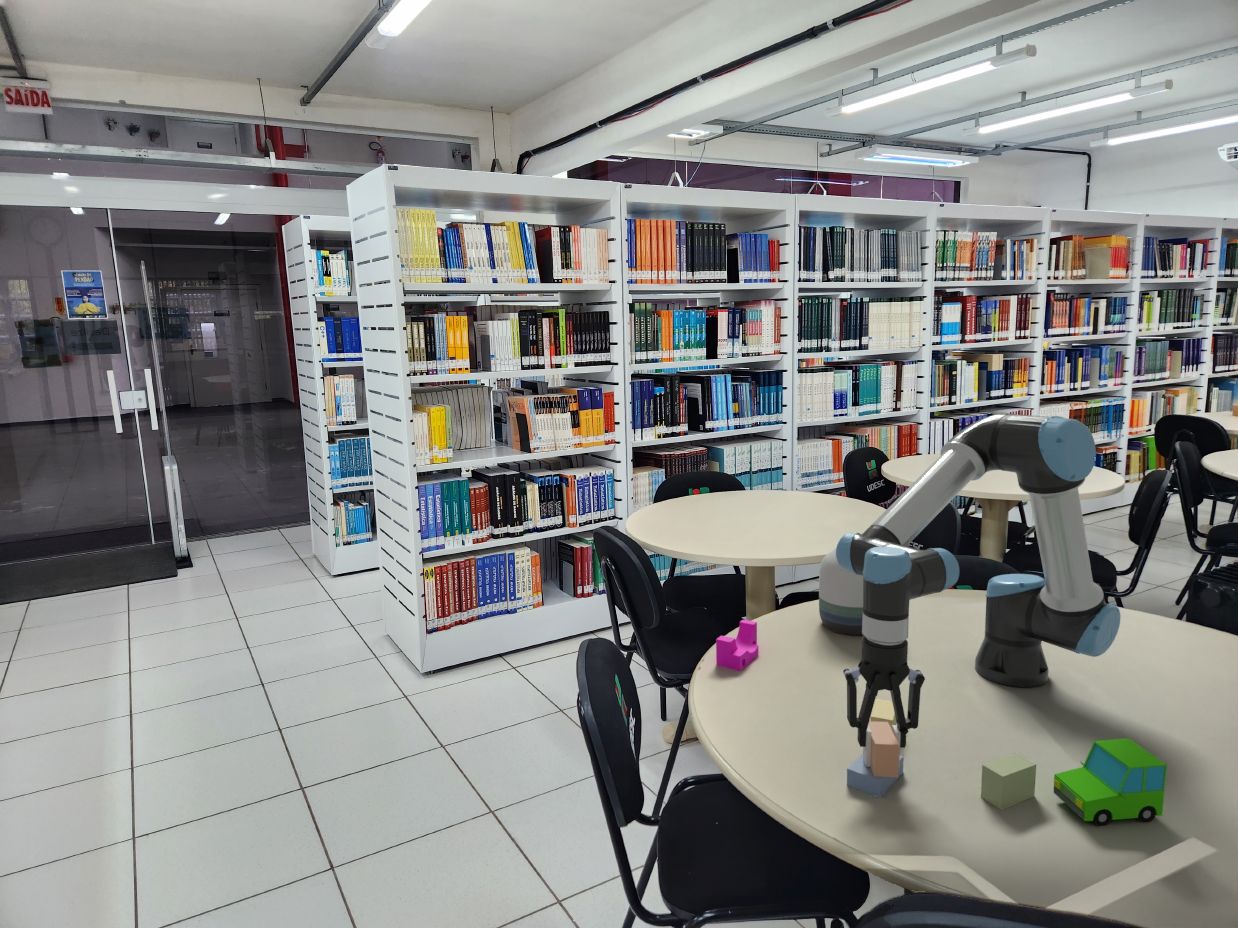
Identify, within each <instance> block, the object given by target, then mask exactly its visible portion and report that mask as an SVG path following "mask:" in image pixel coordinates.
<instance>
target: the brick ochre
mask: <svg viewBox="0 0 1238 928" xmlns="http://www.w3.org/2000/svg"><path fill="white" fill-rule="evenodd" d="M870 721H873V722H888V723H889V725H890V727H891V729H892V725H897V722H896V717H895V712H894V707H893V702H892V700H888V699H882V698H875V701H874V705H873V709H872V713H871V716H870Z"/></svg>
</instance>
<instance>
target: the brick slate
mask: <svg viewBox="0 0 1238 928" xmlns="http://www.w3.org/2000/svg"><path fill="white" fill-rule="evenodd" d="M903 773H904V756H903V755H901V754H900V762H899V771H898V777H874V775H873V772H872V770H871V767H866V765H865V762H864V760H863V753H862V754H861V755H860V756H859V757H858V758H857V759H856V760H854V761H853V762H852V763H850V765H849V766H848V767H847V769H846V786H848V787H850V788H853V789H856V790H859V791H861V792H864V793H866V794H869V795H871V796H874V797H876V798H881V797H882V796H883V795H884V794H885V793H886V791H888V789H890V787H891V786H892V785H893V784H894V783H895V782H896V781H897V780H898V779H899V778H900V776H902V774H903Z"/></svg>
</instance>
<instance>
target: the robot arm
mask: <svg viewBox="0 0 1238 928" xmlns="http://www.w3.org/2000/svg"><path fill="white" fill-rule="evenodd" d="M940 449H941V450H940V456H939V457H938V458H937V459H936V460H935V461H934V462H933V463H932V464H931V465H930V466H929V467H928V468H927V469H926V470H924V472H923V473H922V474H921V475H920V476H919V477H918V478H917V479H916V480H915V481H914V482H913V483H912V484H911V485H909V487H907V488H906V489H905V491H904V492H902V494H901V495H899V497H898V498H897V499H896V500H895V501H894V502H893V503H892V504H890V506H889V507H888V508H887V509H885V511H884V512H883V513H881V515H880V516H879V517H877V519H875V520H874V522H873V523H872V524H871V525H870V526H869V527H868V528H867V529H866V530H864V532H863V533H861V532H860V533H859V532H848V533H845V534H843V535H842V536H841V538H840V539H839V540H838V542H837V544H836V548H835V549H836V558H837V561H838V563H839V565H840V566H841V567H842V568H844V569H846V570H848V571H851V572H853V573H855V574H857V575H863V620H862V634H863V635H862V636H861V653H860V654H861V655H860V656H861V657H860V661H859V662H858V666H857V667H854V668H851V669H849V668H844V669H843V672H842V673H843V675H844V678H845V681H846V718H847V722H848V724H849V726H850V727H851V728H856V729H857V742H858V744H859V747H862V754H863V760H864V762H865V765H866V767H871V734H872V732H871V730H870V728H869V725H868V724H869V721H871V714H872V711H873V708H874V704H875V701H876V699H877V696H878V693H879V691H883V690H886V691H890V697H891V701H892V702H893V707H894V712H895V717H896V722H897V725H892V731H893V733H894V735H895V737H896V739H897V741H898V743H899V762H900V755H901V749H902V748H905V747H906V745H907V734H908V733H909V730H910V729H914V730H915V729H917V728H918V727H919V717H920V706H921V705H920V703H921V689H922V687H923V685H924V682H925V680H926V677H925V676H924V674H923V673H922V671H921V670H919V669H912V668H910V667H909V665H908V651H909V649H908V648H909V647H908V646H909V642H908V640H907V639H908V638H909V616H910V615H909V614H910V612H909V611H910V600H915V599H918V598H921V597H924V596H929V595H932V594H937V593H942V592H943V591H945V590H947V589H950V588H952V587H953V586H954V585H956V583H958V580H959V577H960V566H959V562H958V560H957V559H956V557H955V555H954V554H953V553H951V552H950V551H949V550H947V549H945V548H941V547H934V548H932V547H930V548H927V549H919V548H914V547H911V546H909V545H910V543H911V542H912V541H913V540H915V538H916V537H918V535H919V534H920V533H921V532H922V531H923V530H924V529H925V528H926V527H927V526H928V525H929V524H930V523H931V522H932V521H933V520H934V519H935V518H936V517H937V515H939V513H941V512H942V511H943V510H944V509H945V507H946V506H948V505H949V503H951V501H953V499H955V497H956V496H957V495H958V494H960V492H961V491H962V490H963V489H965V487H966V486H967V485H968V484H969V483H970V482H971V481H977V480H980V479H981V478H982V477H983V476H984V475H985V474H986V473H988V472H990V471H1003V472H1010V473H1015V474H1016V477H1017V482H1018V486H1019V489H1021V490H1022V491H1023V492H1024V493H1026V494H1028V495H1029V503H1030V507H1031V510H1032V511H1031V512H1032V518H1033V521H1034V528H1035V531H1036V532H1035V533H1036V539H1037V544H1038V548H1039V554H1040V559H1041V565H1042V571H1043V575H1044V577H1042V576H1040V575H1036V574H1025V573H1009V574H1008V573H1006V574H1000V575H996V576H993V577H992V578H990V579H989V580H988V583H987V587H986V593H985V597H986V598H985V599H986V601H985V619H984V620H985V623H984V638H983V640H982V643H981V645H980V647H979V649H978V650H977V651H978V652H977V654H976V656H975V659H974V663H975V664H974V670H975V671H976V673H977V674H979V675H980V676H981V677H983V678H985V679H986V680H988V681H991V682H994V683H998V684H1001V685H1006V686H1012V687H1019V688H1020V687H1021V688H1030V687H1031V688H1033V687H1037V686H1038V687H1039V686H1042V685H1044V684H1045V683H1047V682H1048V680H1049V671H1050V670H1049V666H1048V663H1047V659H1046V656H1045V653H1044V650H1043V647H1042V642H1044V643H1047V644H1050V645H1052V646H1056V647H1058V648H1061V649H1064V650H1067V651H1070V652H1072V653H1073V652H1074V653H1076V654H1078V655H1079V654H1081V655H1085V656H1088V657H1094V658H1095V657H1099V656H1101V655H1103V654H1105V653H1106V652H1108V650H1109V649H1110V647H1111V646H1112V644H1113V643H1114V642H1115V639H1116V636H1117V635H1118V631H1119V628H1120V626H1121V610H1120V609H1119V607H1117V606H1116V605H1114V604H1113V603H1107V602H1106V599H1105V595H1104V591H1103V589H1102V587H1101V586H1100V585H1099V584H1097V583H1096V582H1094V580H1093V574H1092V569H1091V568H1092V567H1091V561H1090V556H1089V549H1088V542H1087V536H1086V529H1085V523H1084V518H1083V511H1082V506H1081V499H1080V493H1079V488H1080V487H1081V486H1082V485H1083V484H1084V482H1085V481H1086V478H1088V476H1089V475H1090V474H1091V472H1092V470H1093V469H1094V466H1095V459H1094V458H1095V457H1096V451H1097V450H1096V442H1095V439H1094V436H1093V433H1092V432H1091V430H1090V429H1089V427H1088V426H1087V425H1086V424H1084V423H1083V422H1081V421H1079V420H1078V419H1074V418H1066V417H1063V416H1058V415H1055V416H1054V415H1052V416H1043V415H1042V416H1041V415H1028V414H1016V413H1015V414H1014V413H1007V412H1004V413H997V414H993V415H989V416H986V417H983V418H982V419H979V420H977V421H975V422H973V423H971V424H970V425H968V426H966V427H964V428H963V429H962V430H960V431H959V432H958V433H956V434H955V435H953V436H952V437H951V438H950V439H949V440H948V441H947V442H946V443H945V444H944V445H943V446H942V448H940ZM860 676H861V677H862V678H863V679H864V680H865V691H864V694H863V698H862V701H861V704H860V705H861V706H860V709H859V713H858V711H857V710H858V701H857V699H858V697H857V695H858V694H857V693H858V691H857V684H856V683H858V682H859V677H860ZM907 677H908V681H909V685H908V698H907V699H908V701H907V715H906V716H907V717H906V716H905V711H904V705H903V702H902V701H903V700H902V693H901V687H900V686H901V684H902V683H903V682H904V681H905V679H906V678H907Z"/></svg>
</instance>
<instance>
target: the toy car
mask: <svg viewBox="0 0 1238 928" xmlns="http://www.w3.org/2000/svg"><path fill="white" fill-rule="evenodd" d="M1080 763H1081V765H1082V766H1081V767H1078V768H1077V767H1076V768H1074V769H1070V770H1066V771H1061V772H1057V773H1054V775H1053V776H1054V777H1053V794H1054V795H1056V796H1057V798H1059V800H1060V801H1063V803H1064V804H1065V805H1067V806H1068V807H1069V808H1070V809H1071V811H1073V812H1074V813H1075V814H1077V816H1079V817H1080V818H1081V819H1082V821H1084V822H1092V823H1094V825H1096V826H1097V827H1105V826H1108V825H1109V823H1110V822H1111V820H1112V821H1113V820H1114V821H1115V820H1127V819H1128V820H1130V819H1137V820H1138V821H1139V822H1141V823H1150V822H1152V821H1153V820H1154V819H1155V817H1161V816H1163V810H1164V801H1165V800H1164V799H1165V790H1166V789H1165V788H1166V787H1165V786H1166V777H1167V766H1168V764H1166V763H1165V762H1163V761H1162V760H1161V759H1159V758H1158V757H1156V756H1155V755H1153V754H1152V753H1151V752H1150V751H1149V752H1148V750H1146V749H1145V748H1143V747H1142V746H1141V745H1139V744H1137V743H1136V742H1134V741H1133V740H1132V739H1130V738H1117V739H1116V738H1115V739H1103V740H1102V739H1101V740H1094V741H1093V743H1092V745H1091V748H1090V750H1089V752H1088V754H1087V757H1086V759H1085V761H1084V762H1083V761H1082V760H1080Z"/></svg>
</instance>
